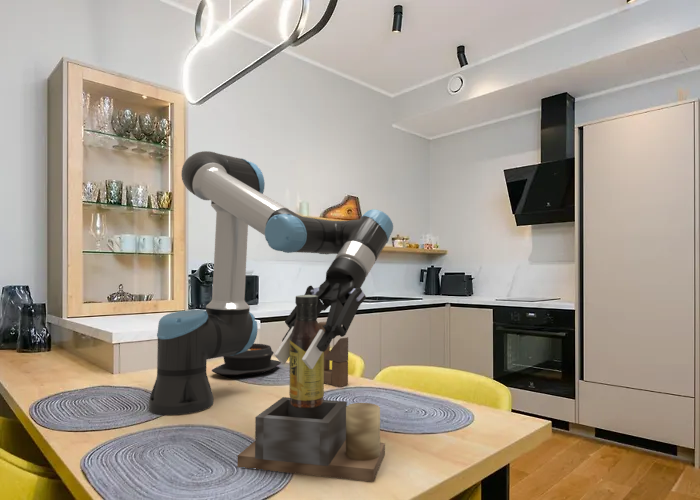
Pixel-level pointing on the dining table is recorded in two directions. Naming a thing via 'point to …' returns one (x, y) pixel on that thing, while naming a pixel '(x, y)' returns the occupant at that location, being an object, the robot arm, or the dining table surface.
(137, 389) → the dining table surface
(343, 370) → the wooden block
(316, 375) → the sauce bottle
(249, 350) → the casserole
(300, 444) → the post socket
